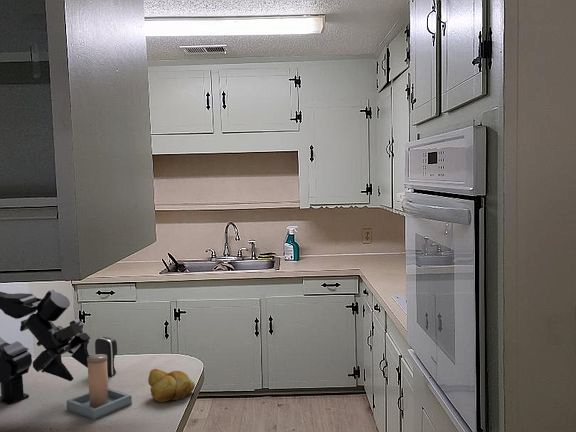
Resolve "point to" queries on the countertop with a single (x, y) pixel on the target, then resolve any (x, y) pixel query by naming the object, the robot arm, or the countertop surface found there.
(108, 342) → the battery charger
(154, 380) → the bread roll
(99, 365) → the jar
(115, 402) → the tray
